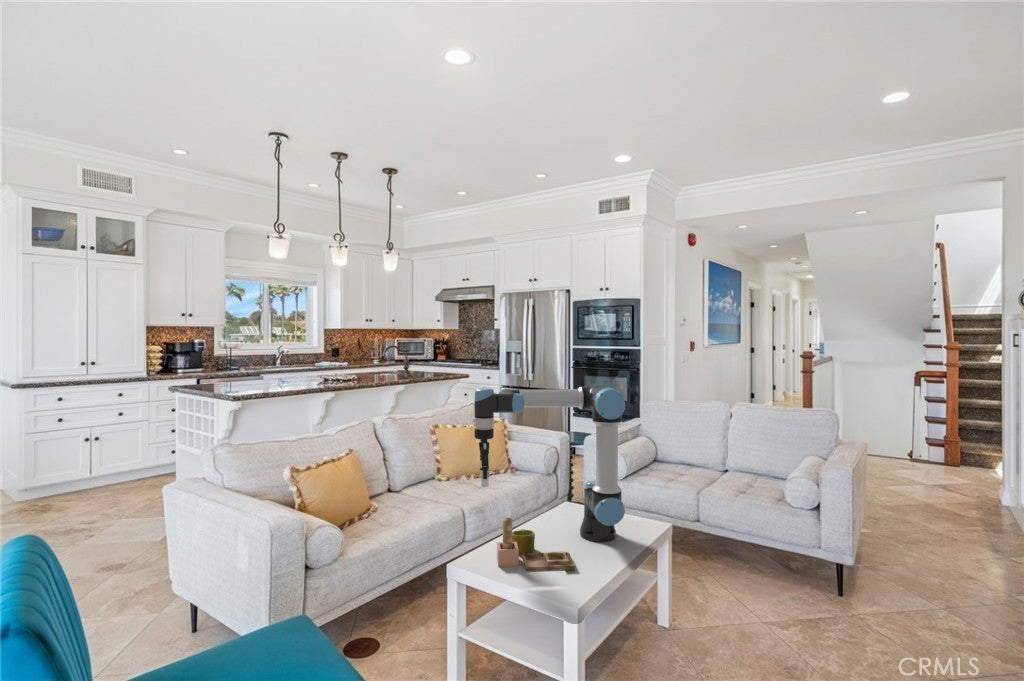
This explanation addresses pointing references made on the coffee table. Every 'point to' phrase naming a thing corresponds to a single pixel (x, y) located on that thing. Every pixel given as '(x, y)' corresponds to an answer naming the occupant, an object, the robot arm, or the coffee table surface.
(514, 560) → the pink hollow box
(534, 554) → the tray
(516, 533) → the mug
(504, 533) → the dowel
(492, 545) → the coffee table surface
